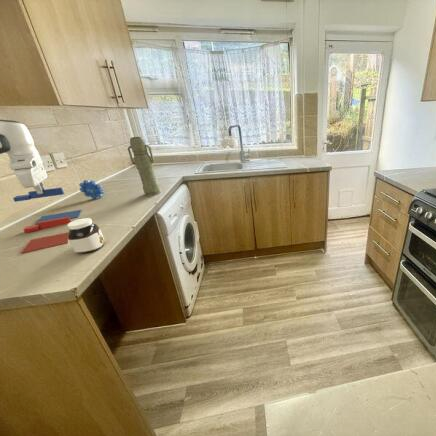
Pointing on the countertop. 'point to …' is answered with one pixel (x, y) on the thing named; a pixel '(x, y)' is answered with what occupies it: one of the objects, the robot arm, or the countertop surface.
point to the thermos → (144, 165)
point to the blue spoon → (45, 194)
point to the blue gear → (91, 189)
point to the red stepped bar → (47, 224)
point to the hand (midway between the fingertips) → (41, 192)
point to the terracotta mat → (46, 242)
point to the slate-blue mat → (60, 216)
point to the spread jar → (85, 236)
